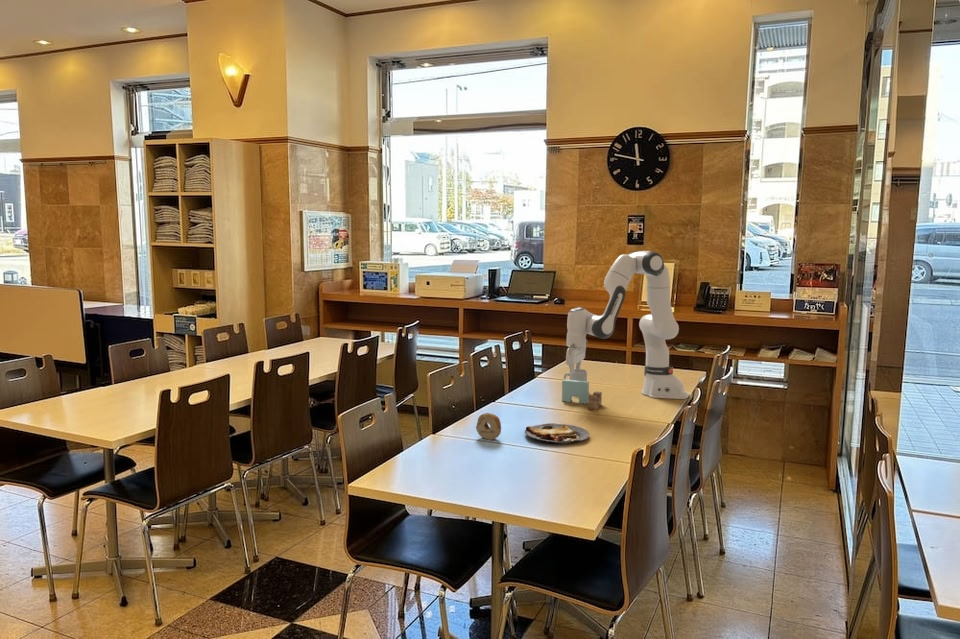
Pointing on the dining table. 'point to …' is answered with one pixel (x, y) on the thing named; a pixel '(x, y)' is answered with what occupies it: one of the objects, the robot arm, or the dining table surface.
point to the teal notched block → (575, 390)
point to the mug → (577, 375)
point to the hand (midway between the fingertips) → (575, 371)
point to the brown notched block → (594, 400)
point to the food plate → (556, 432)
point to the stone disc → (484, 429)
